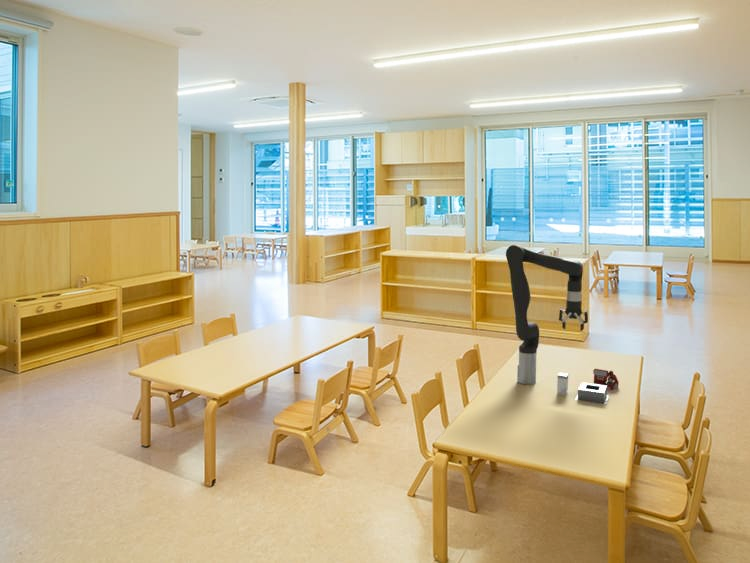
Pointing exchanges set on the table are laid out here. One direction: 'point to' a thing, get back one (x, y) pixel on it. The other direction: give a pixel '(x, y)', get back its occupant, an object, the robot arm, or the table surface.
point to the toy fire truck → (605, 378)
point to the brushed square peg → (562, 384)
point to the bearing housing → (592, 393)
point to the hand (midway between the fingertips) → (572, 329)
